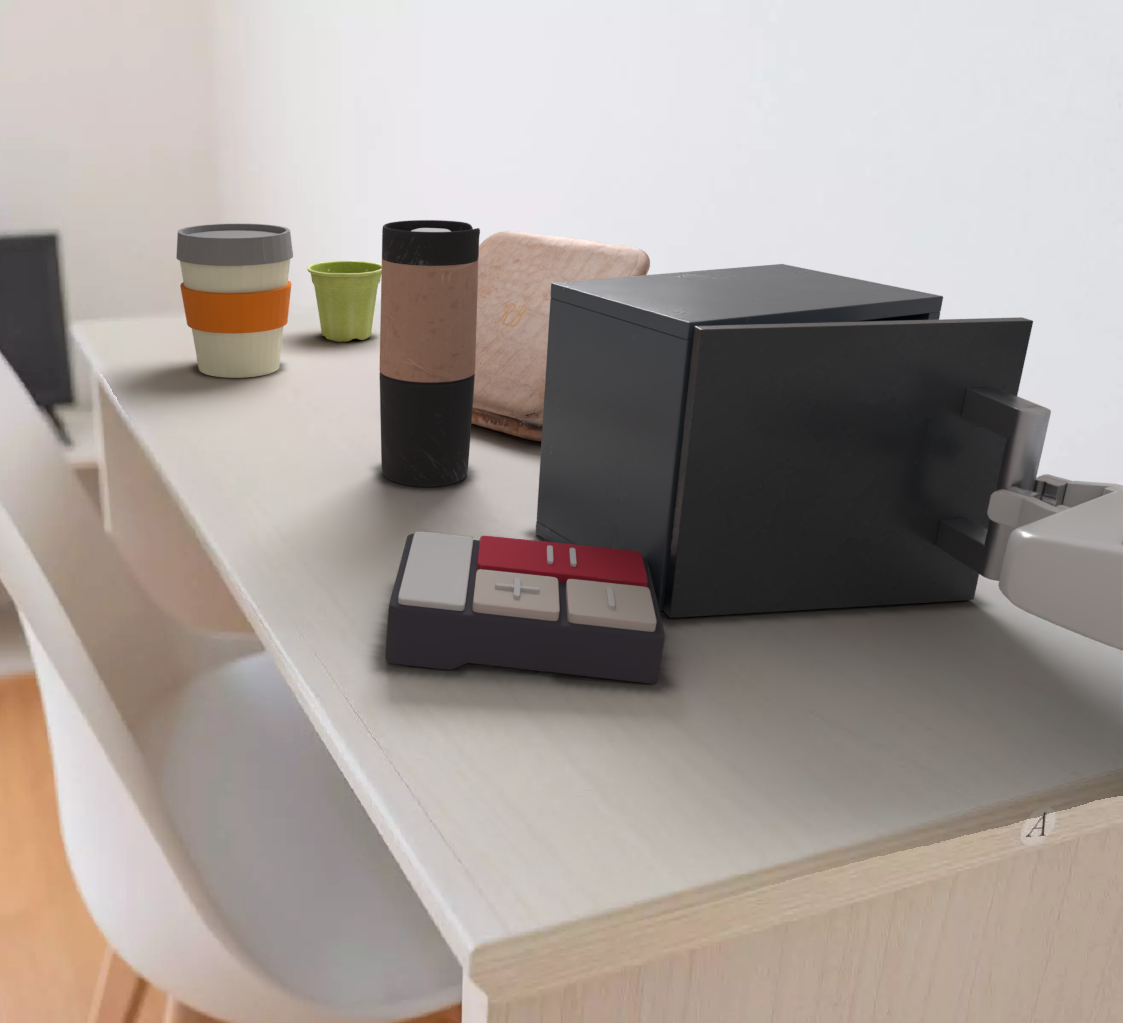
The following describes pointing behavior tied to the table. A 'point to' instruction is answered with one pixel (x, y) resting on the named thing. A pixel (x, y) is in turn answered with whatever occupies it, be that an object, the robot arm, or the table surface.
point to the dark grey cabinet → (659, 387)
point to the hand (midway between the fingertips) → (1012, 495)
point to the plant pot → (346, 297)
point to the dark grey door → (848, 463)
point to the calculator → (524, 607)
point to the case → (528, 318)
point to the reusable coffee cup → (236, 295)
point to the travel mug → (427, 350)
